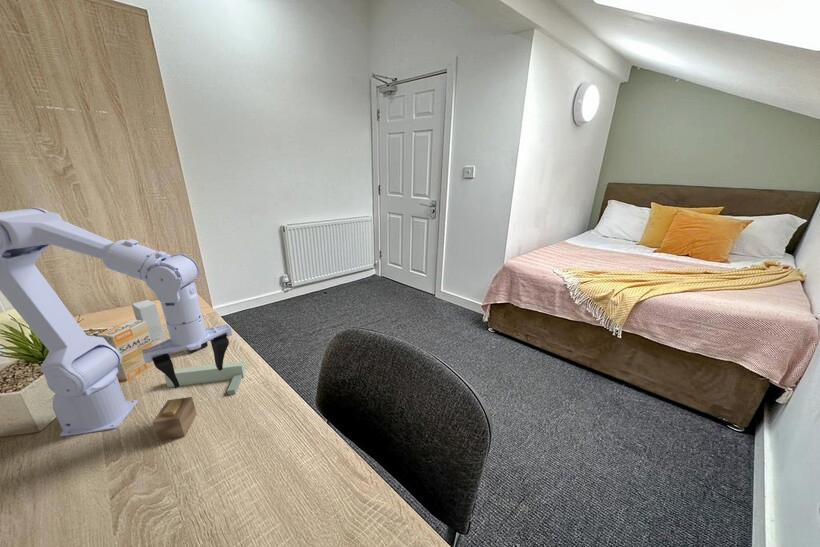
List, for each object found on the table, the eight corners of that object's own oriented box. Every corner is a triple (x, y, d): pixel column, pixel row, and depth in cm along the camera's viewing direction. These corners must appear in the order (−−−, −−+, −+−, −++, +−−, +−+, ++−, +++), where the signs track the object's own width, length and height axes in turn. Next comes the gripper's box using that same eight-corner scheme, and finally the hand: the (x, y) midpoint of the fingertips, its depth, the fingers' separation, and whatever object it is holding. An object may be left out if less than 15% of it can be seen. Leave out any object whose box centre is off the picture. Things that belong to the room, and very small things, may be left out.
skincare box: (166, 338, 95) (156, 303, 91) (149, 344, 92) (138, 309, 88) (157, 333, 98) (148, 299, 94) (141, 338, 95) (130, 303, 91)
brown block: (159, 441, 60) (151, 419, 58) (173, 418, 66) (166, 397, 64) (185, 437, 61) (178, 415, 59) (197, 415, 67) (191, 393, 65)
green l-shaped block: (154, 405, 69) (150, 392, 68) (171, 382, 76) (168, 369, 75) (237, 394, 73) (234, 381, 72) (246, 373, 80) (243, 361, 79)
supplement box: (127, 382, 76) (111, 336, 72) (112, 379, 77) (95, 334, 73) (159, 362, 84) (146, 320, 79) (145, 360, 85) (131, 318, 80)
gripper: (138, 340, 51) (158, 404, 56) (232, 313, 61) (243, 369, 66) (133, 325, 56) (152, 385, 61) (221, 302, 66) (231, 355, 70)
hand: (198, 376), depth 64 cm, fingers open, 7 cm apart
